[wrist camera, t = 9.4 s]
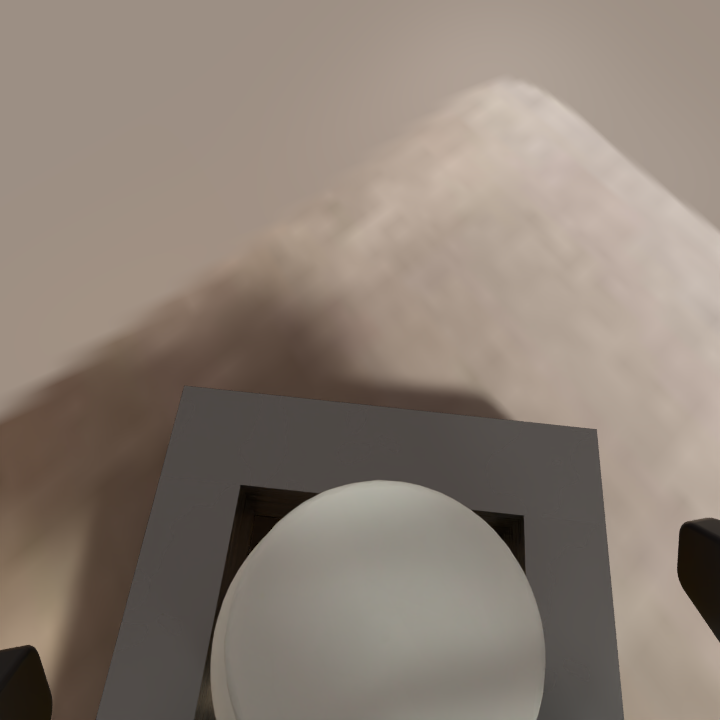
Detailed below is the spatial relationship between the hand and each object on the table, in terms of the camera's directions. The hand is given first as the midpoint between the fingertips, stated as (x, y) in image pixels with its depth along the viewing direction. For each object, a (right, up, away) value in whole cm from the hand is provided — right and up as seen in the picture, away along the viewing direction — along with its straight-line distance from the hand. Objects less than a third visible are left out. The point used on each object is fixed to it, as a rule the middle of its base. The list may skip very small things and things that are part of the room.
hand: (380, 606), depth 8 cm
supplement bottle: (0, -5, +8) cm, 9 cm away
